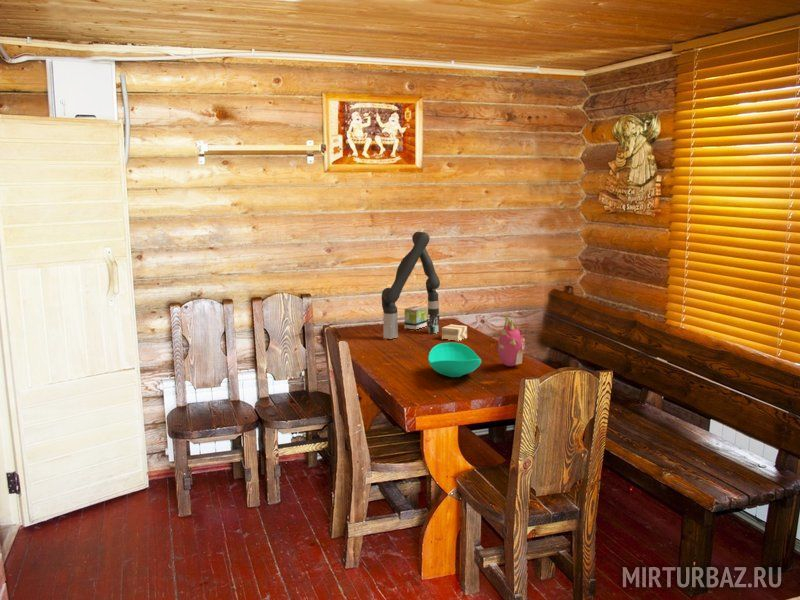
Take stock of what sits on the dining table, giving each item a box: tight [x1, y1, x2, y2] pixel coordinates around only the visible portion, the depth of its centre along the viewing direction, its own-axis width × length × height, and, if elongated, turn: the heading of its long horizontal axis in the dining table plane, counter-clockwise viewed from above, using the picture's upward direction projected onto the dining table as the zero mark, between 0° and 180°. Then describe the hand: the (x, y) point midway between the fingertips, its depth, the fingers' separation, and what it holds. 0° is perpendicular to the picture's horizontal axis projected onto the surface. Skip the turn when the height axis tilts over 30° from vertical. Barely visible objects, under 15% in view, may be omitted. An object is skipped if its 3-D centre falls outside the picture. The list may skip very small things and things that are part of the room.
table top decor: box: [427, 342, 482, 378], centre depth 369 cm, size 40×28×13 cm
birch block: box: [441, 323, 468, 342], centre depth 453 cm, size 12×12×8 cm
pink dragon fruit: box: [497, 312, 526, 367], centre depth 383 cm, size 18×14×30 cm
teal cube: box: [428, 324, 439, 334], centre depth 471 cm, size 5×5×5 cm
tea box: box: [404, 305, 428, 330], centre depth 486 cm, size 15×10×15 cm
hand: (433, 331), depth 471 cm, fingers closed on teal cube, 5 cm apart
